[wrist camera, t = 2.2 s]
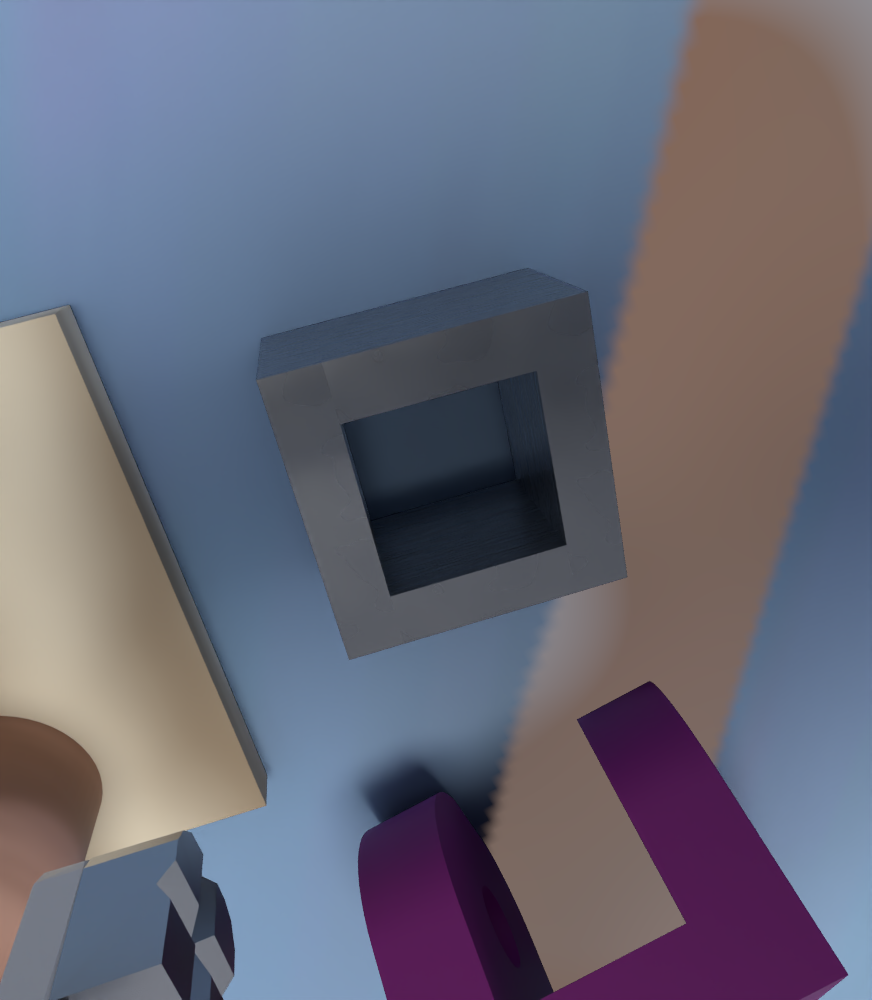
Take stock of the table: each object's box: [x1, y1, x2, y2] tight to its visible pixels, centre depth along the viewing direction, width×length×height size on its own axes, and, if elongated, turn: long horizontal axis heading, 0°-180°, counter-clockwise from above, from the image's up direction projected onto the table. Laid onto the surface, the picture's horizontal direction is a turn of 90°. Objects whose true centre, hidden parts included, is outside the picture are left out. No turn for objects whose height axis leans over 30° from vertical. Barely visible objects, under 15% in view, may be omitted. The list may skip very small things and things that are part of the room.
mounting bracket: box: [358, 681, 848, 1000], centre depth 25 cm, size 9×8×18 cm
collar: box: [256, 268, 627, 660], centre depth 18 cm, size 6×6×4 cm
